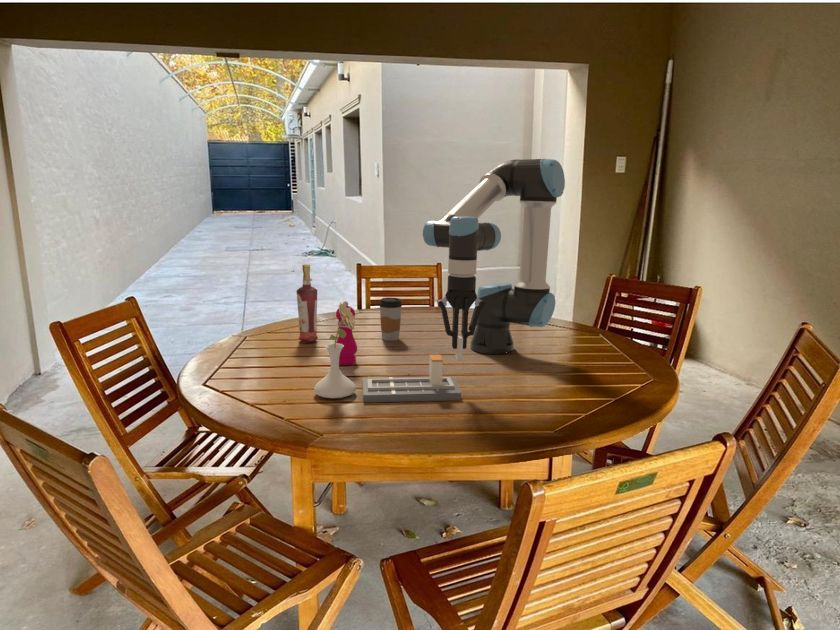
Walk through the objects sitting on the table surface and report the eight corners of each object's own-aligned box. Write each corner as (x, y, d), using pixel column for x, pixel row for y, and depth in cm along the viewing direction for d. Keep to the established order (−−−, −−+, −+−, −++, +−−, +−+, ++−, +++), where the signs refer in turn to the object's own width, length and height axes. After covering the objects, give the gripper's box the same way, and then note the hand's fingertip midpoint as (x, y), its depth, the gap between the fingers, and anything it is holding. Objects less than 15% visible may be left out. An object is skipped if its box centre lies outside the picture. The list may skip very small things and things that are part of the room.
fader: (439, 380, 162) (440, 354, 160) (442, 386, 157) (442, 359, 155) (428, 380, 161) (429, 354, 160) (431, 386, 157) (431, 359, 155)
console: (452, 382, 167) (452, 373, 167) (461, 399, 154) (461, 390, 153) (362, 384, 164) (362, 375, 164) (363, 402, 151) (363, 392, 150)
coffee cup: (405, 337, 216) (405, 298, 213) (395, 343, 209) (395, 302, 205) (385, 335, 219) (386, 296, 216) (375, 340, 212) (375, 300, 209)
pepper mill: (353, 366, 181) (352, 304, 177) (331, 364, 182) (330, 302, 178) (360, 359, 188) (359, 299, 183) (339, 358, 189) (338, 298, 185)
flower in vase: (337, 405, 148) (336, 310, 143) (305, 396, 154) (302, 305, 149) (368, 391, 159) (368, 302, 154) (336, 383, 165) (335, 297, 160)
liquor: (321, 342, 208) (320, 265, 202) (302, 345, 204) (300, 266, 198) (313, 338, 214) (311, 263, 208) (294, 340, 210) (292, 264, 204)
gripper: (482, 273, 158) (479, 356, 163) (435, 272, 156) (433, 356, 161) (489, 277, 150) (484, 363, 155) (439, 276, 149) (437, 364, 154)
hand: (458, 359), depth 158 cm, fingers closed
